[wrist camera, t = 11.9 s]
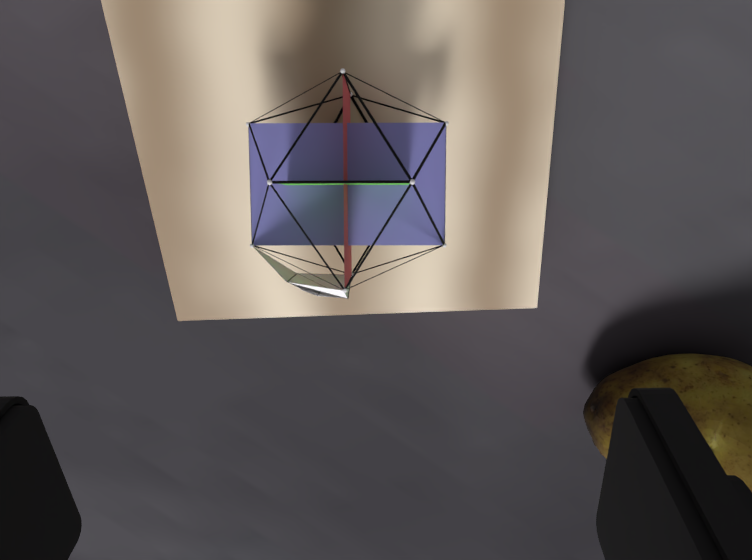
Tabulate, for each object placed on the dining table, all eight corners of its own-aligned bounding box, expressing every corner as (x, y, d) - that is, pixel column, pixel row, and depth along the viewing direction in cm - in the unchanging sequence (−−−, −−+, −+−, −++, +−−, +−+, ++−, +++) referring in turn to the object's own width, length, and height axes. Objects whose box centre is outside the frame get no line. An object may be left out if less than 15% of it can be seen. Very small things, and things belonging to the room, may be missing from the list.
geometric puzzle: (236, 15, 19) (205, 238, 16) (453, 13, 19) (467, 238, 16) (273, 151, 26) (257, 330, 23) (435, 151, 26) (443, 330, 23)
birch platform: (548, -54, 23) (569, -54, 20) (523, 275, 30) (537, 307, 27) (126, -31, 23) (94, -28, 21) (195, 287, 30) (177, 320, 28)
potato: (652, 284, 30) (735, 388, 23) (848, 378, 32) (977, 497, 25) (556, 403, 33) (602, 525, 26) (739, 479, 36) (825, 608, 29)
